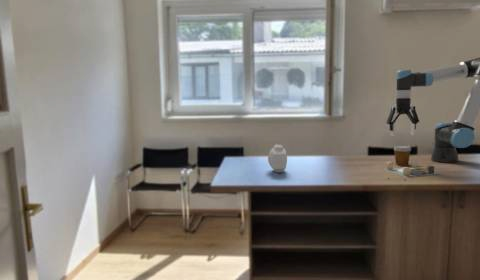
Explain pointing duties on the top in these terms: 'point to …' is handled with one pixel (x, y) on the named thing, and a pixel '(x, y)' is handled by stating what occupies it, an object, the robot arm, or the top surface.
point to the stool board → (406, 170)
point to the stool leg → (425, 169)
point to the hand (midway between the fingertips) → (402, 135)
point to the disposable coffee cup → (402, 155)
